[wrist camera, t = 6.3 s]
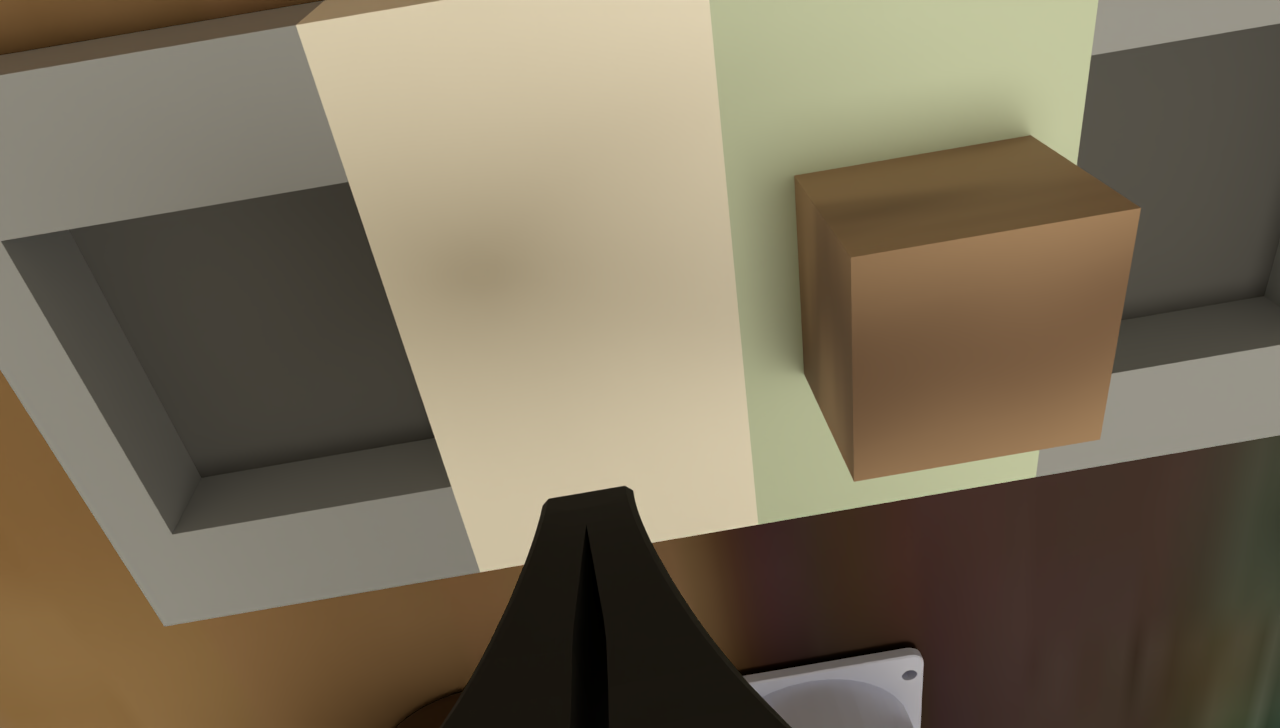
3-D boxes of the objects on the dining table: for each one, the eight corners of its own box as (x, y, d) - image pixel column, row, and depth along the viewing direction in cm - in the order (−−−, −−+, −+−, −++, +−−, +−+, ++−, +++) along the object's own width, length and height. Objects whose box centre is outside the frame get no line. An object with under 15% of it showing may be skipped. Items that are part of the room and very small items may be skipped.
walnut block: (1010, 338, 21) (1100, 439, 18) (804, 374, 21) (853, 481, 18) (1031, 135, 18) (1140, 207, 15) (794, 175, 18) (850, 257, 15)
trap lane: (1282, 372, 26) (1350, 422, 23) (195, 559, 25) (164, 626, 23) (1454, -192, 18) (1575, -193, 16) (-87, 69, 18) (-170, 104, 16)
